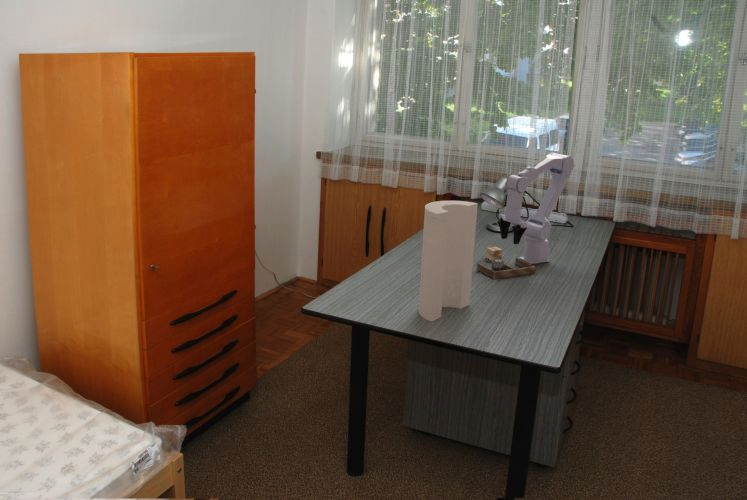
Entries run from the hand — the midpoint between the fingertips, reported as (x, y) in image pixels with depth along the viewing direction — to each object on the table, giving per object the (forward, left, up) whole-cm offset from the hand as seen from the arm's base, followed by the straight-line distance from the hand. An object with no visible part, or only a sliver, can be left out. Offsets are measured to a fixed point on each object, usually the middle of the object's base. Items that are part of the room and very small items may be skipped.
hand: (510, 241), depth 284 cm
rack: (+4, +4, -10) cm, 12 cm away
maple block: (0, -10, -11) cm, 14 cm away
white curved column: (+49, +28, -11) cm, 57 cm away
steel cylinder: (+9, +5, -10) cm, 14 cm away
